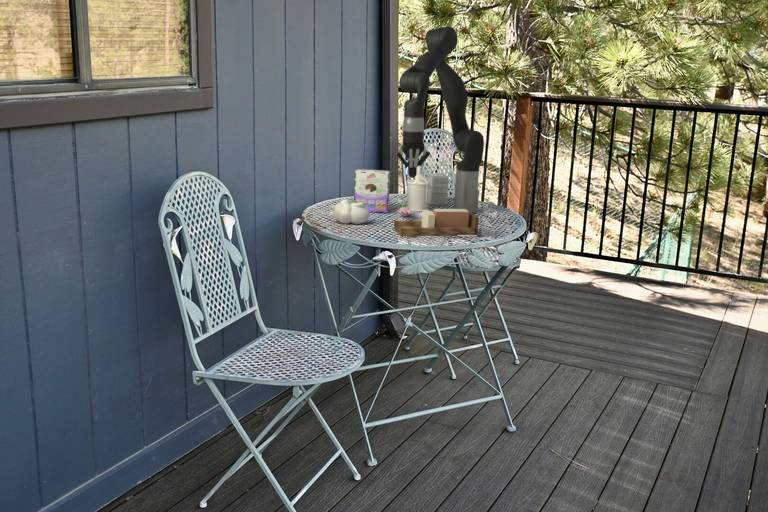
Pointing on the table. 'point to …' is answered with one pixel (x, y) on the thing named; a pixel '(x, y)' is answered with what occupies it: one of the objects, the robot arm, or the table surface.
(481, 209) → the table surface
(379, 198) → the candy box
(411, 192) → the white bottle
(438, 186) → the supplement box
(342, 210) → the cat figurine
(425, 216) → the bookend
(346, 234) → the table surface
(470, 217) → the book rack
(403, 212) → the rabbit figure
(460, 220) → the book
